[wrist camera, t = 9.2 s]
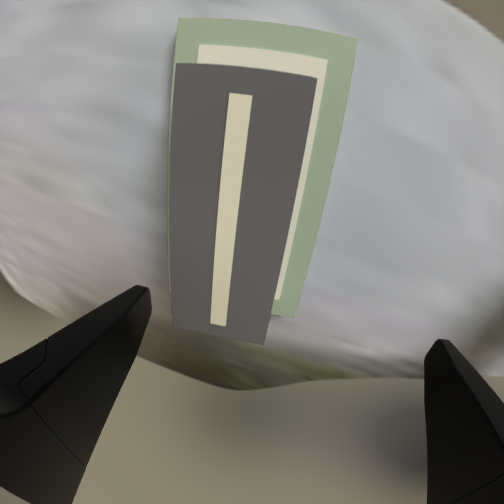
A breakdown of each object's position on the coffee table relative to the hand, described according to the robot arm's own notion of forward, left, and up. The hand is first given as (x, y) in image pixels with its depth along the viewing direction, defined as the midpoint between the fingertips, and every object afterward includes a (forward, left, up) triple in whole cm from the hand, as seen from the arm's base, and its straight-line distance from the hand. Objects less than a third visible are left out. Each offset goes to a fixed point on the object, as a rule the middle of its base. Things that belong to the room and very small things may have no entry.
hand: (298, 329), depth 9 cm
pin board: (+3, 0, -12) cm, 12 cm away
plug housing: (+3, 0, -10) cm, 10 cm away
